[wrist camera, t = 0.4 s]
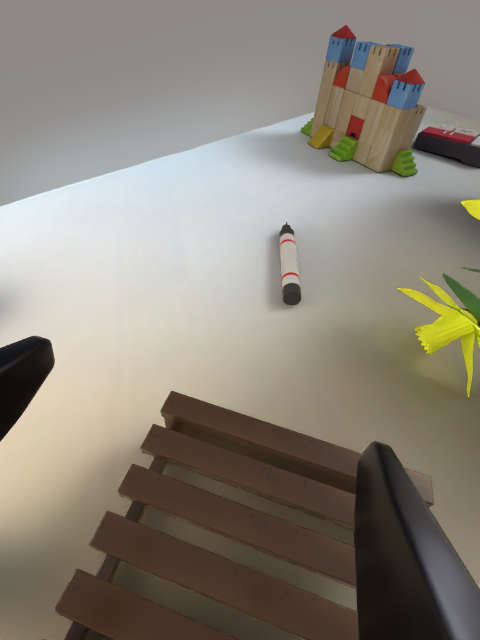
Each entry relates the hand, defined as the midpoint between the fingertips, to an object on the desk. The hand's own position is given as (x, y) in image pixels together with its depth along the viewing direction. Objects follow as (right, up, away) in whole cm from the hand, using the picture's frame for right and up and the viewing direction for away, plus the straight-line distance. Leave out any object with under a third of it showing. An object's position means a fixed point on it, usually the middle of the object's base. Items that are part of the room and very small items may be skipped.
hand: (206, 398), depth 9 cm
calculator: (+50, +41, +66) cm, 92 cm away
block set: (+25, +38, +61) cm, 77 cm away
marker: (+7, +9, +32) cm, 34 cm away
